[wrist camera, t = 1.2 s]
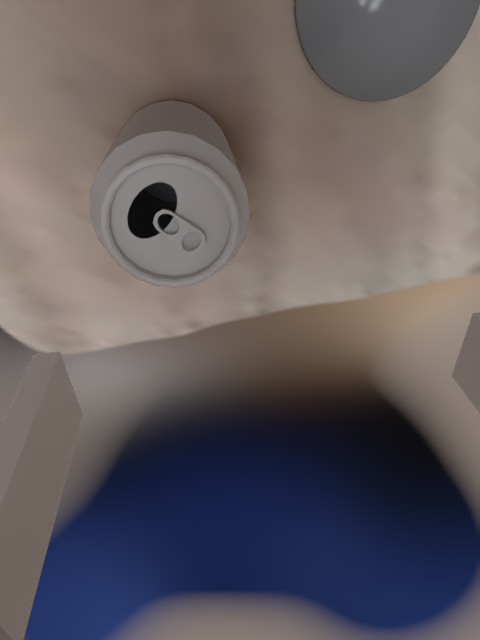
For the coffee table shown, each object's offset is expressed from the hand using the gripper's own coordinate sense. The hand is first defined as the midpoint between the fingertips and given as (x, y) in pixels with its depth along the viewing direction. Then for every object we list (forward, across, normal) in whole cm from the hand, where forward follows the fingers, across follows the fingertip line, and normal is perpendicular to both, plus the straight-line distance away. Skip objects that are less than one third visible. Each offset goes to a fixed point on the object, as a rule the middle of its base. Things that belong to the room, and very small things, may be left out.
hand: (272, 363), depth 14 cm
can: (+20, -3, +2) cm, 20 cm away
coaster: (+20, +10, +10) cm, 24 cm away
